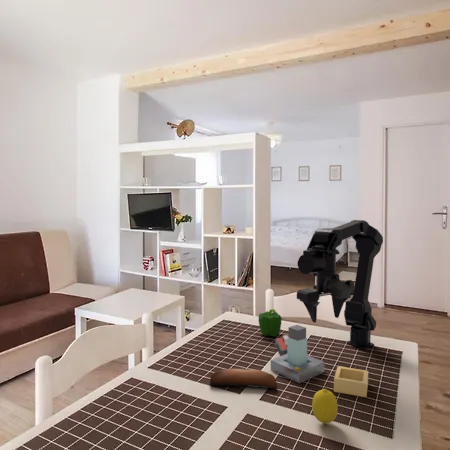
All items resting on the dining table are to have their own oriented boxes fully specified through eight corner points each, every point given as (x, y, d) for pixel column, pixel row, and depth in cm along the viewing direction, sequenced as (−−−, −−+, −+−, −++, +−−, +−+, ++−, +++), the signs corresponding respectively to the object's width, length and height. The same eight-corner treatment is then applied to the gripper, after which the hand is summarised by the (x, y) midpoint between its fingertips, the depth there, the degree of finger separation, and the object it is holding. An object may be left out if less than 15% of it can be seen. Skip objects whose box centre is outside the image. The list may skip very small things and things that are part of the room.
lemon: (308, 417, 89) (309, 384, 89) (332, 416, 90) (332, 382, 89) (316, 432, 84) (316, 396, 83) (341, 430, 84) (341, 394, 83)
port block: (295, 359, 121) (295, 349, 121) (324, 372, 112) (324, 360, 112) (270, 369, 114) (270, 358, 114) (299, 383, 106) (299, 371, 105)
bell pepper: (255, 331, 147) (255, 306, 146) (276, 329, 149) (276, 304, 148) (263, 339, 139) (263, 312, 138) (284, 337, 141) (284, 310, 140)
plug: (296, 366, 116) (296, 324, 115) (307, 371, 113) (307, 327, 112) (287, 370, 114) (287, 327, 113) (297, 375, 110) (297, 330, 110)
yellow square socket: (337, 378, 108) (337, 366, 108) (367, 383, 105) (368, 370, 105) (333, 391, 101) (334, 378, 101) (366, 397, 98) (366, 383, 98)
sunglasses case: (276, 375, 110) (276, 360, 106) (276, 398, 105) (276, 384, 101) (214, 372, 113) (212, 358, 109) (211, 395, 107) (208, 380, 103)
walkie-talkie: (309, 360, 121) (295, 337, 141) (309, 346, 121) (295, 326, 141) (281, 361, 121) (271, 338, 141) (281, 347, 121) (271, 326, 141)
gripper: (321, 277, 107) (321, 333, 108) (368, 271, 116) (367, 322, 117) (295, 271, 116) (295, 322, 117) (340, 265, 125) (340, 312, 126)
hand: (325, 319), depth 119 cm, fingers open, 9 cm apart
